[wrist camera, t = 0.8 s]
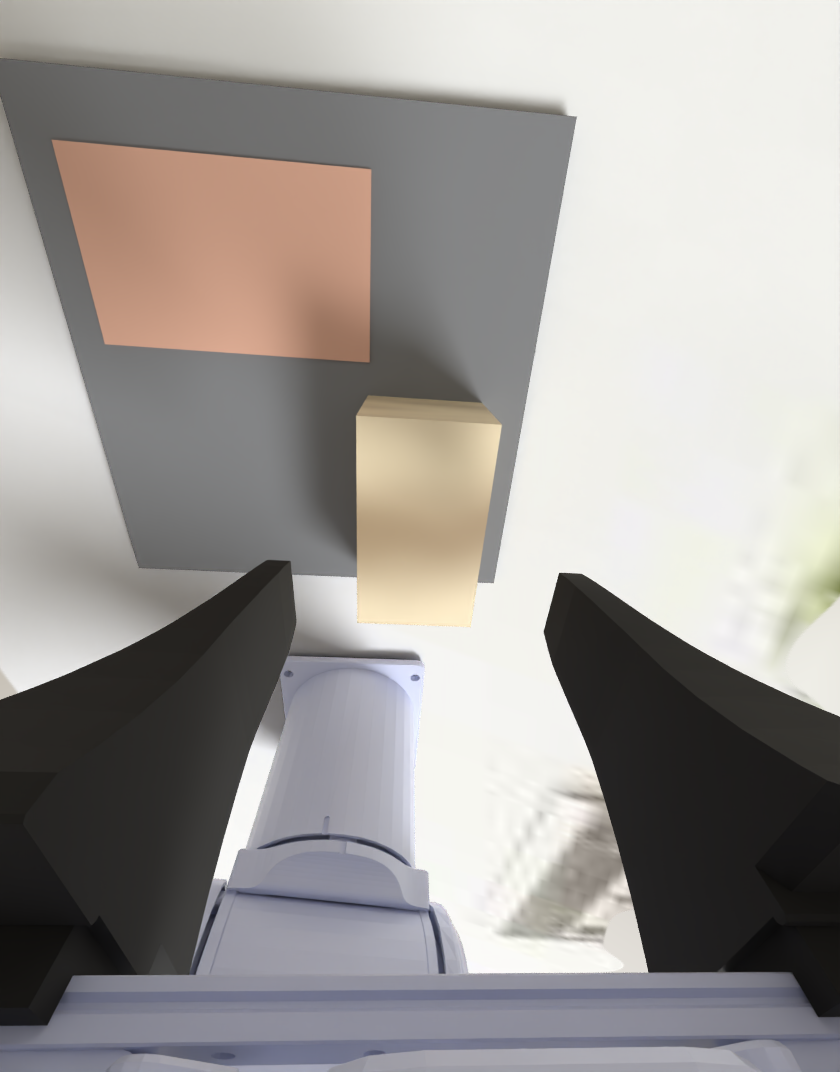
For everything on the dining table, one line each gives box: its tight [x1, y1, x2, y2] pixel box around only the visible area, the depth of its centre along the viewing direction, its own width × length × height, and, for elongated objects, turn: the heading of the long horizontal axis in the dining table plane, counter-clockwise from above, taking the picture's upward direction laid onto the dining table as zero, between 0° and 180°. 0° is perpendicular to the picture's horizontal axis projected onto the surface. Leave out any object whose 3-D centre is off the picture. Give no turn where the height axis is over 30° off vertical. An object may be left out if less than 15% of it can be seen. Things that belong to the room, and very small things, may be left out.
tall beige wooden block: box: [356, 395, 502, 627], centre depth 16 cm, size 8×4×4 cm, turn 176°
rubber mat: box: [0, 58, 577, 583], centre depth 16 cm, size 17×17×1 cm
